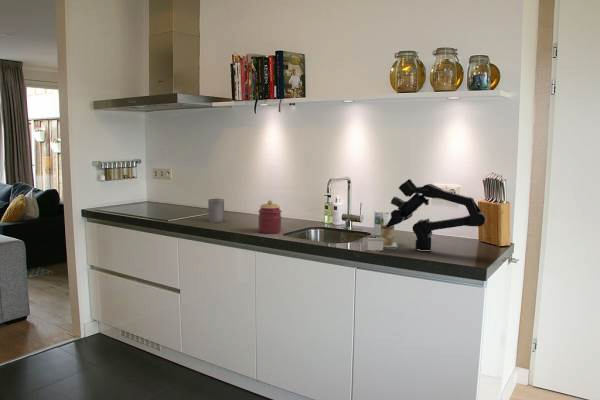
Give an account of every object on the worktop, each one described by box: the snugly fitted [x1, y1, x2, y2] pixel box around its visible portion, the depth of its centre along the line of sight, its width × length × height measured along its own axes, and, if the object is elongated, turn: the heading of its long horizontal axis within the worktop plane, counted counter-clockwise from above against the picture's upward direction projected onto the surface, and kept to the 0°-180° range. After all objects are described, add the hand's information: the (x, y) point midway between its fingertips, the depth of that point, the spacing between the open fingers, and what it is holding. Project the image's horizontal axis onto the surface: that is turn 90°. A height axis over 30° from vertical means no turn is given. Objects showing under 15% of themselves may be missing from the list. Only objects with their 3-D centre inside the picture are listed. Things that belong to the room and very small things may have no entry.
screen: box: [367, 237, 384, 251], centre depth 214 cm, size 7×2×6 cm, turn 82°
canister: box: [257, 200, 282, 235], centre depth 257 cm, size 13×13×18 cm
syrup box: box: [373, 209, 390, 238], centre depth 244 cm, size 6×6×14 cm
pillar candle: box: [207, 198, 225, 223], centre depth 289 cm, size 10×10×15 cm
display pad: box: [383, 241, 398, 248], centre depth 225 cm, size 9×9×1 cm
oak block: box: [381, 225, 395, 246], centre depth 224 cm, size 5×5×9 cm
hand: (389, 225), depth 223 cm, fingers open, 9 cm apart
